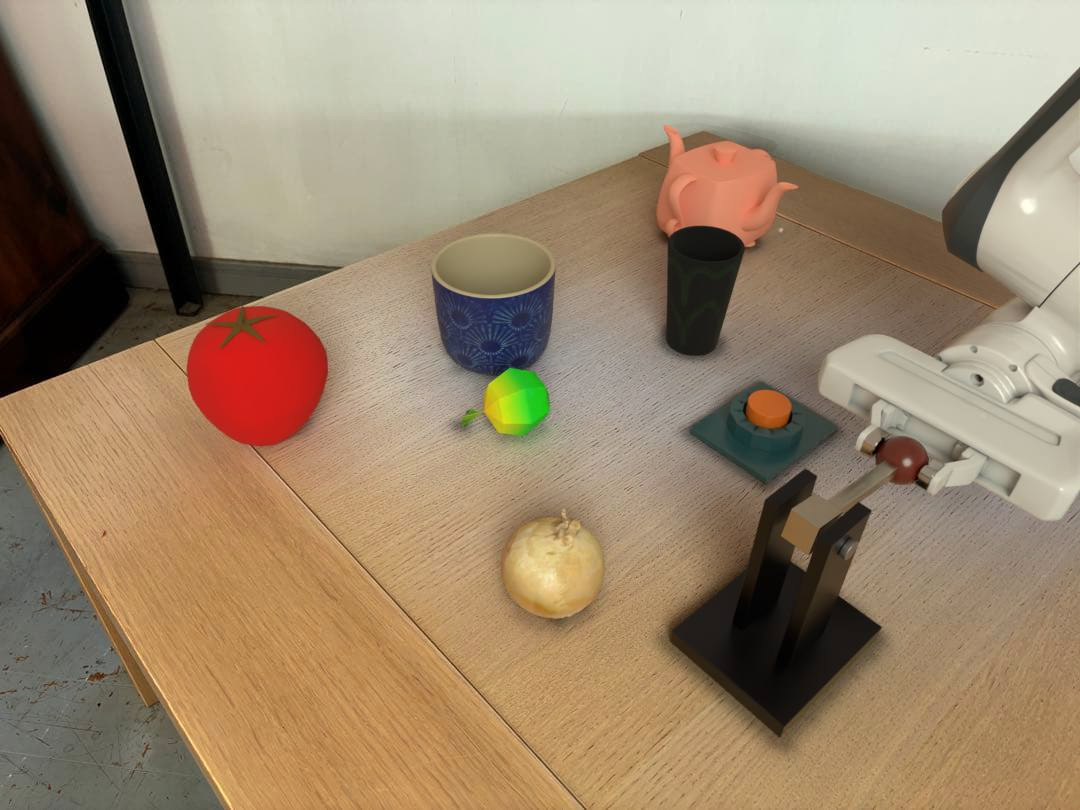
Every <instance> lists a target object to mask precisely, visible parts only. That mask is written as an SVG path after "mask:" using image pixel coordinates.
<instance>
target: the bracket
mask: <svg viewBox="0 0 1080 810" xmlns="http://www.w3.org/2000/svg"><path fill="white" fill-rule="evenodd" d="M817 480H818V475H817V474H815V473H814V472H812V471H811V470H809V469H807V468H804V469H802V470H801V471H800V472H798V473H797V474H796V475H795V476H793V477H792V478H791V479H789V480H788V481H787V482H785V484H783V485H782V486H780V487H779V488H778V489H777V490H775V491H774V492H773V493H772V494H770V495H769V496H768V497H766V498H765V499H764V502H763V504H762V508H761V512H760V515H759V520H758V524H757V528H756V531H755V535H754V539H753V543H752V547H751V551H750V555H749V558H748V562H747V564H746V568H745V569H744V570H742V572H740V573H739V574H738V575H737V576H735V577H734V578H733V579H732V580H731V581H729V583H727V584H726V585H724V586H723V587H722V588H721V589H720V590H718V591H717V593H715V594H714V595H713V596H711V597H709V599H708V600H707V601H705V602H704V603H703V604H702V605H701V606H700V607H699V608H698V607H697V609H695V611H693V612H692V613H691V614H689V615H688V616H687V617H686V618H685V619H684V620H682V621H681V622H680V623H678V624H677V625H676V626H675V627H674V628H673V629H671V635H670V640H669V641H670V643H671V644H672V645H674V647H676V648H677V649H678V650H679V651H680V652H681V653H682V654H684V656H685V657H687V658H688V659H689V660H690V661H691V662H693V663H694V664H695V665H696V666H697V667H698V668H700V669H701V670H702V671H703V672H704V673H705V674H706V675H708V676H709V677H710V678H711V679H712V680H713V681H714V682H716V683H717V684H718V685H719V686H720V687H721V688H723V690H725V691H726V692H727V693H728V695H730V696H731V697H732V698H733V699H735V700H736V701H737V702H738V703H739V704H741V705H742V706H743V707H744V708H745V709H746V710H747V711H749V712H750V713H751V714H752V715H753V716H754V717H755V718H757V720H759V721H760V722H761V723H762V724H764V725H765V727H766V728H768V729H769V730H770V731H771V732H772V733H774V734H775V735H776V736H777V737H778V738H782V737H783V735H785V733H786V732H787V731H789V729H790V728H791V727H792V726H793V725H795V723H796V722H797V721H798V720H799V719H800V718H801V717H802V716H803V715H804V714H805V713H806V712H807V711H808V710H809V709H810V708H811V707H812V706H813V705H814V704H815V703H816V702H817V701H818V699H819V698H821V697H822V696H823V694H824V693H825V692H827V690H828V689H829V688H831V686H832V685H834V683H835V682H836V681H837V680H838V679H839V678H840V677H841V676H842V675H843V674H844V673H845V672H846V671H847V670H848V669H849V668H850V667H851V666H852V665H853V664H854V663H855V662H856V661H857V659H858V658H859V657H860V656H862V655H863V653H864V652H865V651H866V650H867V649H868V648H869V647H870V646H871V645H872V644H873V643H875V642H876V640H877V639H878V637H879V635H880V633H881V631H882V628H883V627H882V626H881V625H880V624H879V623H878V622H876V621H875V620H873V619H871V618H870V617H869V616H868V615H866V614H865V613H864V612H862V611H861V610H859V609H858V608H856V607H855V606H854V605H853V604H851V603H850V602H848V601H847V600H845V599H844V598H843V597H841V596H840V593H841V590H842V588H843V585H844V583H845V580H846V577H847V575H848V572H849V569H850V568H851V565H852V562H853V559H854V557H855V555H856V552H857V549H858V547H859V545H860V541H861V539H862V538H863V535H864V531H865V529H866V526H867V524H868V522H869V519H870V516H871V513H872V509H870V508H869V507H868V506H866V505H864V504H863V503H861V502H860V503H859V502H857V503H856V504H855V505H854V506H853V507H852V508H850V509H849V510H848V511H847V512H846V513H844V514H843V515H842V516H841V517H840V518H839V519H838V520H836V521H835V522H834V523H833V524H832V525H831V526H829V527H828V528H827V529H826V530H825V531H824V532H822V533H821V534H820V535H819V536H818V538H817V541H816V544H815V547H814V550H813V553H811V556H810V557H809V558H810V559H809V562H808V564H807V567H806V570H804V569H802V568H801V567H800V566H798V565H797V564H796V563H794V562H793V561H792V557H793V555H794V551H795V549H796V546H794V545H793V544H791V543H790V542H789V541H787V540H786V539H784V538H783V537H781V533H782V531H783V528H784V526H785V523H786V520H787V518H788V515H789V513H790V510H791V508H793V507H794V506H796V505H797V504H799V503H800V502H802V501H803V500H805V499H806V498H808V497H809V496H811V495H812V494H813V491H814V489H815V486H816V485H815V484H816V482H817Z"/></svg>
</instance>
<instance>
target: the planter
mask: <svg viewBox="0 0 1080 810" xmlns="http://www.w3.org/2000/svg"><path fill="white" fill-rule="evenodd" d="M556 263H557V262H556V259H555V257H554V255H553V253H552V252H551V251H550V250H549V249H548V248H547V247H546V246H544V245H543V244H542V243H540V242H538V241H536V240H535V239H532V238H529V237H525V236H522V235H517V234H513V233H505V232H487V233H486V232H485V233H478V234H471V235H467V236H464V237H461V238H458V239H456V240H452V241H451V242H449V243H447V244H445V245H443V247H441V248H440V249H439V250H438V251H437V252H436V253H435V255H434V256H433V258H432V259H431V261H430V274H431V279H432V281H431V282H432V288H433V297H434V304H435V312H436V318H437V325H438V330H439V334H440V338H441V341H442V345H443V347H444V349H445V351H446V353H447V355H448V356H449V357H450V359H451V360H452V361H453V362H455V363H456V364H457V365H458V366H460V367H461V368H463V369H465V370H468V371H470V372H472V373H476V374H479V375H486V376H500V375H501V374H502V373H504V372H505V371H506V370H508V369H509V368H513V369H519V370H525V369H527V368H529V367H530V366H532V365H533V364H535V363H536V362H537V361H538V360H539V359H540V358H541V357H542V355H543V354H544V352H545V351H546V349H547V346H548V345H549V341H550V336H551V331H552V324H553V316H554V315H553V314H554V301H555V300H554V299H555V285H556V284H555V283H556V268H557V265H556Z"/></svg>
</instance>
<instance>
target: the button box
mask: <svg viewBox="0 0 1080 810" xmlns="http://www.w3.org/2000/svg"><path fill="white" fill-rule="evenodd" d="M759 390H772V391H776V392H779V393H781V394H783V395H784V396H786V397H787V398H788V399H789V400H790V402H791V405H792V409H791V412H790V416H789V420H788V422H787V424H786V425H785V426H783V427H781V428H775V429H769V428H764V427H760V426H757V425H755V424H754V423H752V422H751V421H749V420H748V418H747V417H746V407H747V402H748V398H749V396H750V395H751V394H752V393H754V392H756V391H759ZM837 428H838V425H837V424H836V423H834V422H832V421H830V420H829V419H827V418H826V417H823V416H822V415H821V414H819V413H817V412H816V411H814V410H812V409H810V408H808V407H807V406H805V405H803V404H802V403H800V402H799V401H797V400H795V399H793V398H792V397H790V396H788V395H787V394H785V393H783V392H781V391H780V390H778V389H776V388H774V387H773V386H771V385H769V384H767V383H766V382H764V381H762V380H761V381H759V382H758V383H756V384H755V385H754V386H752V387H751V388H749V389H748V390H744V391H742V392H741V393H739V394H738V395H736V396H734V397H733V398H732V399H731V401H728V402H727V403H726V404H724V405H723V406H721V407H719V408H718V409H717V410H716V411H713V413H711V414H709V415H708V416H706V417H705V418H703V419H701V420H700V421H698V422H697V423H696V424H694V425H692V426H691V427H690V430H689V434H691V435H692V436H694V437H695V438H696V439H698V440H700V441H701V442H703V443H704V444H706V445H707V446H709V447H710V448H712V449H713V450H714V451H716V452H717V453H719V454H720V455H722V456H723V457H725V458H726V459H728V460H729V461H731V462H733V463H734V464H735V465H737V466H738V467H740V468H741V469H743V470H744V471H746V472H747V473H748V474H750V475H751V476H753V477H755V478H756V479H757V480H759V481H761V482H762V483H763V484H765V485H766V484H767V483H769V482H770V481H771V480H773V479H774V478H775V477H777V476H778V475H779V474H781V473H782V472H783V471H785V470H786V469H788V467H791V465H792V464H795V462H796V461H798V460H799V459H800V458H802V457H803V456H805V454H807V453H808V452H809V451H811V450H812V449H813V448H815V447H816V446H818V445H819V444H821V442H823V441H824V440H825V439H827V438H829V436H831V435H832V434H833V433H835V432H836V431H837Z"/></svg>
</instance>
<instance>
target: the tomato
mask: <svg viewBox="0 0 1080 810" xmlns="http://www.w3.org/2000/svg"><path fill="white" fill-rule="evenodd" d="M186 361H187V362H186V376H187V384H188V385H187V386H188V391H189V393H190V395H191V399H192V401H193V403H194V404H195V405H196V407H197V408H198V410H199V411H200V413H201V414H202V415H203V416H204V418H205V419H206V420H207V421H208V422H209V423H211V425H212V426H213V427H215V428H216V429H217V430H218V431H220V432H221V433H222V434H224V435H225V436H227V437H229V438H230V439H231V440H232V441H235V442H238V443H240V444H242V445H248V446H255V447H268V446H274V445H277V444H280V443H282V442H283V441H286V440H287V439H289V438H290V437H291V436H293V435H294V434H295V433H297V432H298V431H299V430H301V428H302V427H303V426H304V425H305V424H306V423H307V422H308V421H309V419H310V418H311V417H312V415H313V414H314V412H315V411H316V409H317V407H318V405H319V403H320V401H321V398H322V396H323V395H324V391H325V388H326V384H327V379H328V374H329V361H328V354H327V350H326V348H325V346H324V344H323V342H322V340H321V338H320V337H319V336H318V335H317V334H316V333H315V332H314V330H313V329H312V328H311V327H310V326H309V325H308V324H307V323H306V322H305V321H304V320H301V319H300V318H298V317H297V316H295V315H293V314H292V313H290V312H288V311H287V310H285V309H280V308H275V307H270V306H265V305H250V306H248V305H247V306H244V304H242V305H241V306H240V307H236V308H233V309H230V310H227V311H225V312H224V313H222V314H220V315H218V316H217V317H215V318H214V319H212V320H210V321H209V322H208V323H206V324H205V326H203V328H202V329H201V330H199V332H197V334H196V335H195V337H194V339H193V341H192V342H191V346H190V348H189V351H188V355H187V360H186Z"/></svg>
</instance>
